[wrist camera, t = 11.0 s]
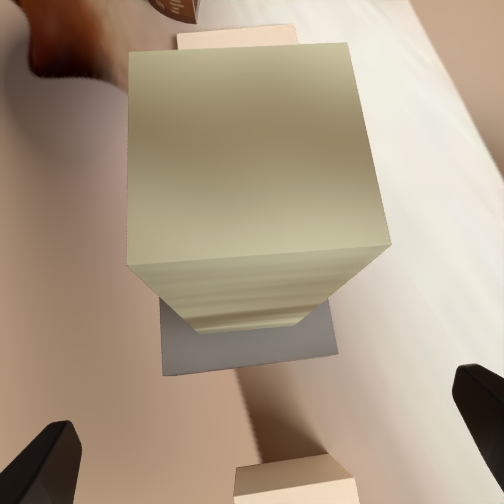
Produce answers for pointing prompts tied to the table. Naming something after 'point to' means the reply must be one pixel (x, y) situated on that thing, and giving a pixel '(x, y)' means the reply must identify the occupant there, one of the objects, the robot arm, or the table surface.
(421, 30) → the table surface
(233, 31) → the card
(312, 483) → the ivory cube
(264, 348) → the slate slab
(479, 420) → the robot arm
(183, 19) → the food container
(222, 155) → the sage block
